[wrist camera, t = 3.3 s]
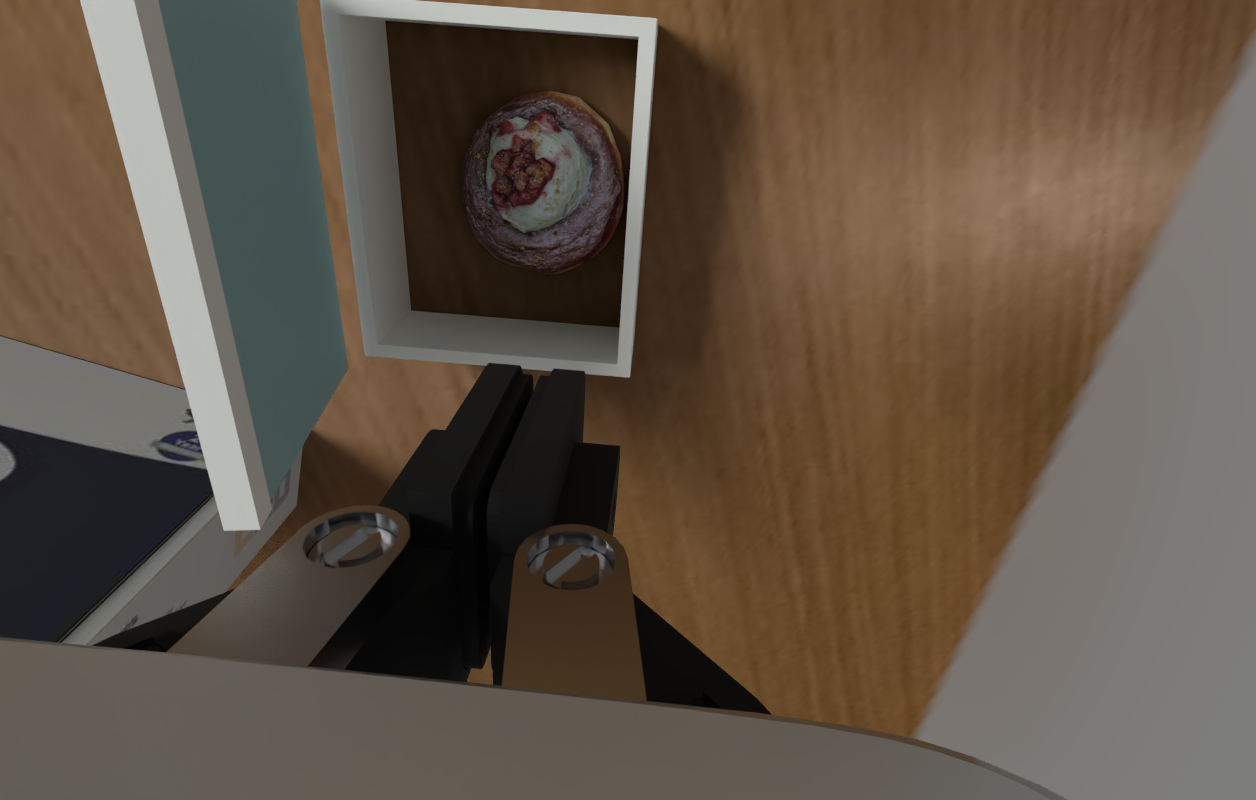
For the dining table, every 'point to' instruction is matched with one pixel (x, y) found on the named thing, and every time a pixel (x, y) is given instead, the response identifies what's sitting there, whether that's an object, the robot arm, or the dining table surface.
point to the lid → (230, 223)
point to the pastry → (543, 182)
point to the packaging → (107, 502)
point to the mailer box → (375, 208)
